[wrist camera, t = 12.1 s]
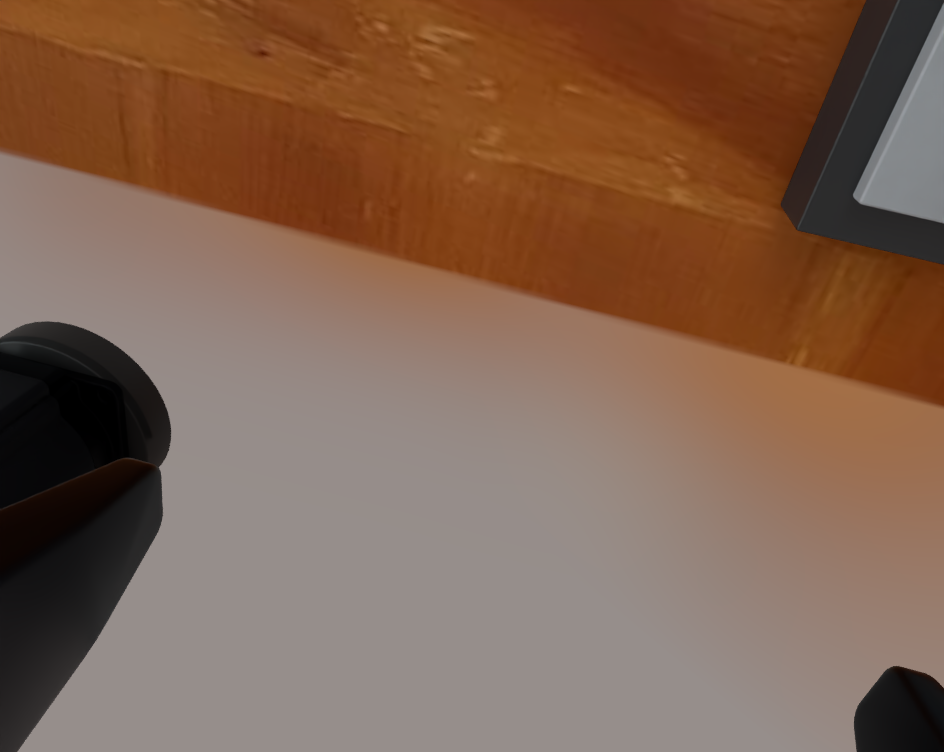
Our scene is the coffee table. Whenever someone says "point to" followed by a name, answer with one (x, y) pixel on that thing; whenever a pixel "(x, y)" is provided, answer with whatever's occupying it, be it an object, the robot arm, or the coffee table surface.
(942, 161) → the scale
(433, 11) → the coffee table surface
